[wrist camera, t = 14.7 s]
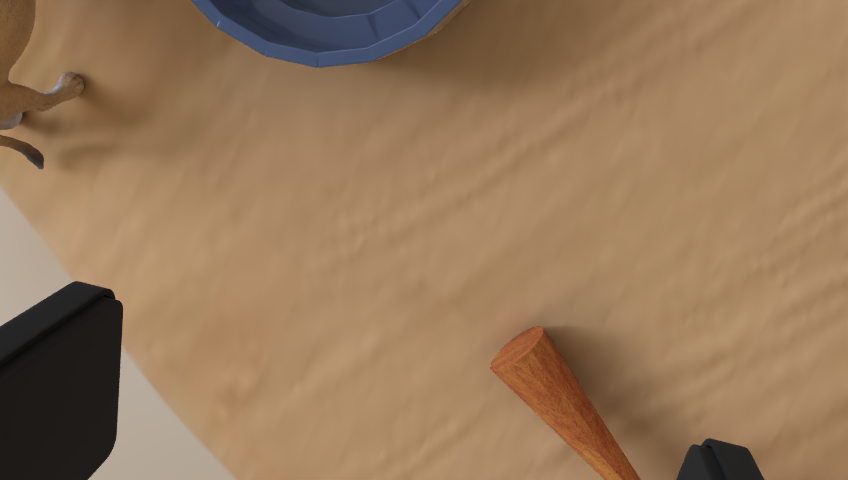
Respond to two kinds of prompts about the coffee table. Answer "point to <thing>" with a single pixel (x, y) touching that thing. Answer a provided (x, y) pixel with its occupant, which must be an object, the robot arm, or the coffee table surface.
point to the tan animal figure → (4, 102)
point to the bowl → (329, 27)
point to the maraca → (560, 401)
